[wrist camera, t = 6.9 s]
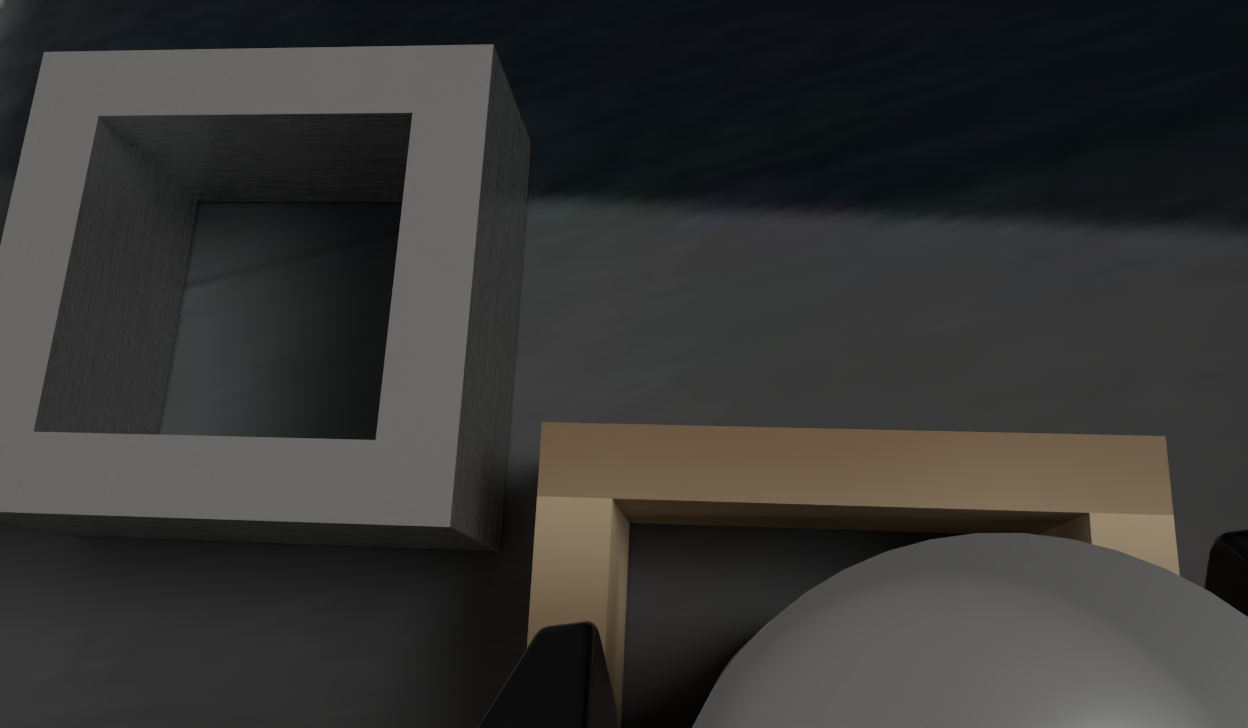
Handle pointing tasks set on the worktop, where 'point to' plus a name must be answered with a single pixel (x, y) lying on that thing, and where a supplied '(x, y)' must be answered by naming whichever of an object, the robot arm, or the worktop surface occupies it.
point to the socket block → (155, 272)
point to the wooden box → (823, 497)
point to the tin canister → (993, 644)
